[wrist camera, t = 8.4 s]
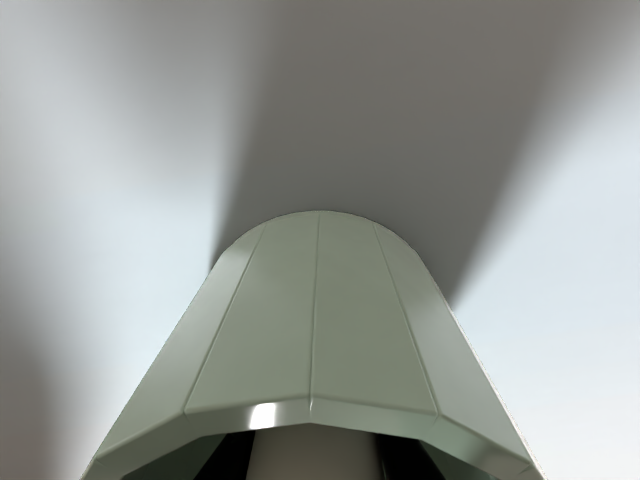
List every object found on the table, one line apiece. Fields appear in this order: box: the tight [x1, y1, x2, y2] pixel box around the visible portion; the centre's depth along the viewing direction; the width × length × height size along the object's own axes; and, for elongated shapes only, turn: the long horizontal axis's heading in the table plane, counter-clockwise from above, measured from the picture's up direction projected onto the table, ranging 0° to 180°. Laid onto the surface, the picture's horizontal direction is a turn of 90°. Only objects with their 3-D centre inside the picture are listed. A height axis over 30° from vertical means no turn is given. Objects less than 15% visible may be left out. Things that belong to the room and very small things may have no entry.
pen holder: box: [79, 211, 548, 480], centre depth 9 cm, size 8×8×7 cm
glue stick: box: [246, 423, 385, 480], centre depth 8 cm, size 3×3×8 cm
